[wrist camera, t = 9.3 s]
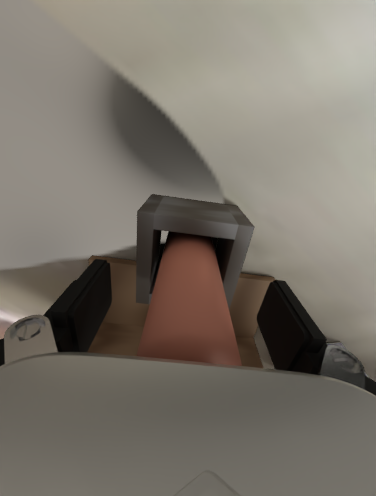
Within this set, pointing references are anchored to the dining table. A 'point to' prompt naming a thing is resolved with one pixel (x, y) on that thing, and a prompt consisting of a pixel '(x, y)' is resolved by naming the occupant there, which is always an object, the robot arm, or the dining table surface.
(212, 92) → the dining table surface
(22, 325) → the robot arm
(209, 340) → the peg
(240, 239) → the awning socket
